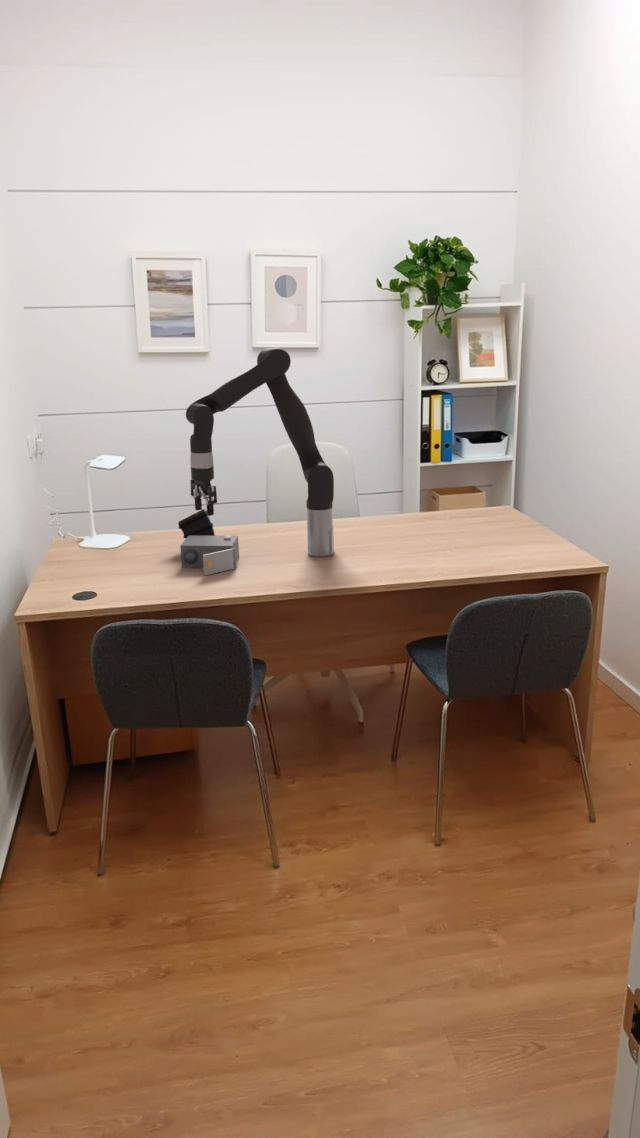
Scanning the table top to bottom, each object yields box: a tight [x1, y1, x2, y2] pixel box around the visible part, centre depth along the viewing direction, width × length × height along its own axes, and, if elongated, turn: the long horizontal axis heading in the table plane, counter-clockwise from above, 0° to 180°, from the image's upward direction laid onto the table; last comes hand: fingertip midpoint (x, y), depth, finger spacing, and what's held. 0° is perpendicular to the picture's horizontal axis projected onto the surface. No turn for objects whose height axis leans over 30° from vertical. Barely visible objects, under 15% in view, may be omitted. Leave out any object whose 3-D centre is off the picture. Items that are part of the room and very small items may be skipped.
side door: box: [203, 548, 237, 576], centre depth 291 cm, size 12×2×7 cm, turn 124°
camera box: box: [180, 535, 240, 569], centre depth 301 cm, size 18×14×9 cm
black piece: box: [177, 508, 216, 540], centre depth 316 cm, size 4×13×15 cm, turn 93°
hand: (204, 512), depth 287 cm, fingers open, 8 cm apart
